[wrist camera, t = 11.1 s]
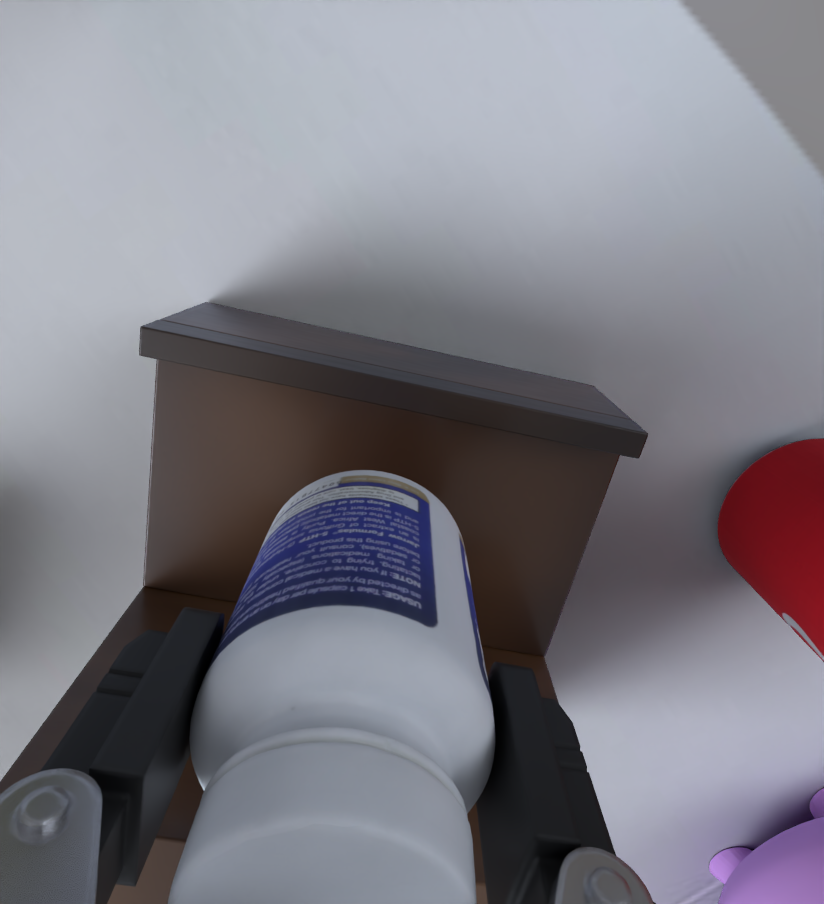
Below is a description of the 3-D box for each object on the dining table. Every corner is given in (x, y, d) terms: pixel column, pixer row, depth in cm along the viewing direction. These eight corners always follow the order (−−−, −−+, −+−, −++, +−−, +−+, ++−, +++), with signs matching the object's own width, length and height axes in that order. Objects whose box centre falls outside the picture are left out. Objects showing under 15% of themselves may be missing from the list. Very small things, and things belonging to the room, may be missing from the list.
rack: (594, 385, 21) (802, 567, 10) (481, 717, 27) (533, 1071, 16) (205, 301, 20) (-55, 398, 9) (173, 666, 26) (-10, 1008, 14)
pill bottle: (227, 550, 16) (18, 923, 7) (368, 424, 14) (311, 701, 6) (366, 667, 17) (325, 1089, 9) (506, 561, 16) (613, 937, 7)
